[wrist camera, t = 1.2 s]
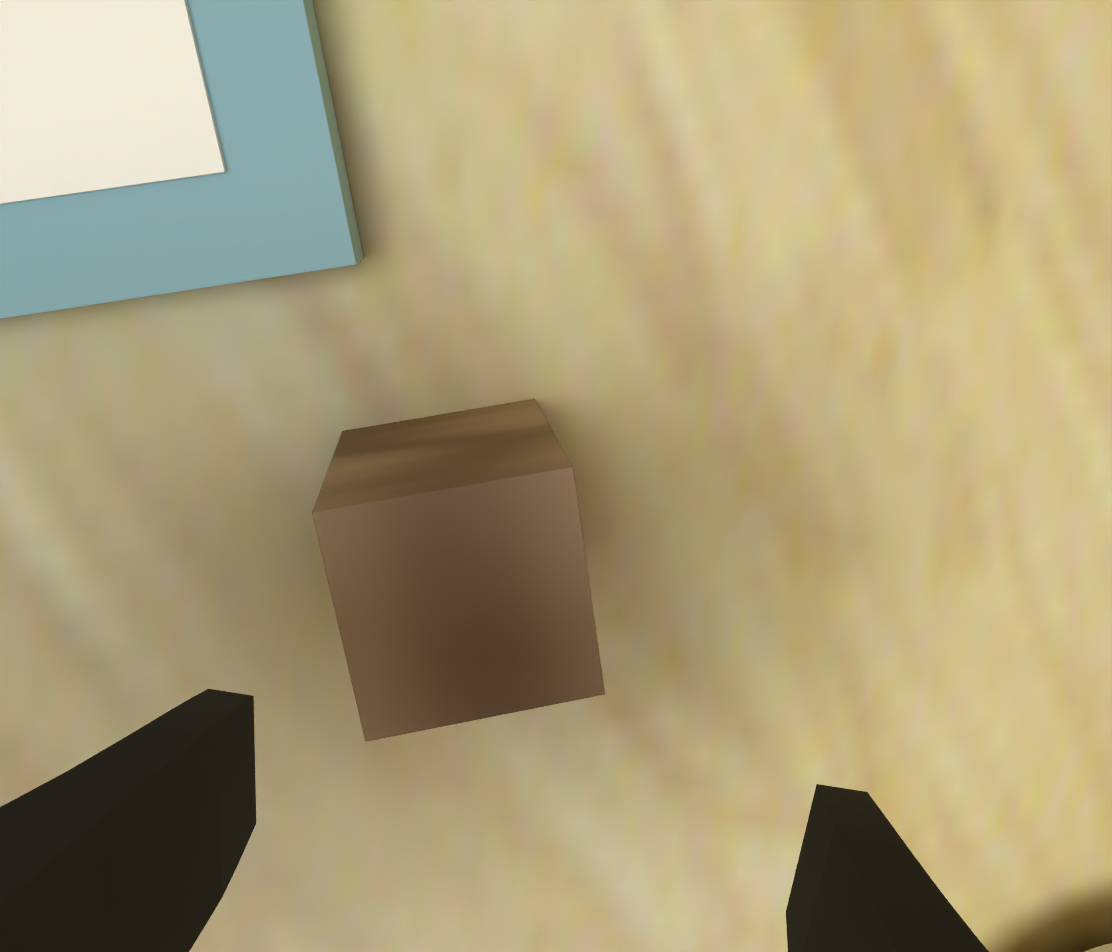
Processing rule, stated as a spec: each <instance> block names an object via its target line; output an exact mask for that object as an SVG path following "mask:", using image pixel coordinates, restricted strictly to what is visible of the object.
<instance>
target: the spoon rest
mask: <svg viewBox="0 0 1112 952" xmlns="http://www.w3.org/2000/svg"><path fill="white" fill-rule="evenodd" d="M1084 952H1112V943H1110V944H1105V945H1102V946H1099V947H1095V948H1092V949H1090V950H1087V951H1084Z"/></svg>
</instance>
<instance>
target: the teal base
mask: <svg viewBox="0 0 1112 952" xmlns="http://www.w3.org/2000/svg"><path fill="white" fill-rule="evenodd" d="M363 258H364V257H363V252H362V247H361V242H360V237H359V232H358V227H357V222H356V217H355V212H354V206H353V201H352V196H351V191H350V186H349V181H348V176H347V171H346V166H345V161H344V156H343V151H342V146H341V141H340V136H339V131H338V126H337V121H336V116H335V110H334V105H333V100H332V95H331V90H330V85H329V80H328V75H327V70H326V65H325V60H324V55H323V50H322V45H321V40H320V35H319V30H318V25H317V20H316V15H315V9H314V4H313V0H0V319H1V318H8V317H15V316H21V315H28V314H34V313H41V312H47V311H54V310H61V309H67V308H74V307H80V306H87V305H93V304H100V303H107V302H113V301H120V300H126V299H133V298H139V297H146V296H152V295H159V294H166V293H172V292H179V291H185V290H192V289H198V288H205V287H212V286H218V285H225V284H231V283H238V282H244V281H251V280H257V279H264V278H271V277H277V276H284V275H290V274H297V273H303V272H310V271H317V270H323V269H330V268H336V267H343V266H349V265H356V264H357V263H358V262H359V261H361V260H362V259H363Z"/></svg>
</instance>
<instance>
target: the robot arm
mask: <svg viewBox="0 0 1112 952" xmlns="http://www.w3.org/2000/svg"><path fill="white" fill-rule="evenodd" d="M255 825H256V793H255V747H254V701H253V696H250V695H244V694H238V693H231V692H225V691H219V690H212V689H207V690H205V691H204V692H202V693H200V694H198V695H196V696H194V697H192V698H191V699H189V700H187V701H185V702H184V703H182V704H180V705H179V706H177V707H175V708H173V709H172V710H170V711H168V712H167V713H165V714H163V715H162V716H160V717H158V718H157V719H155V720H153V721H152V722H150V723H148V724H147V725H145V726H143V727H142V728H140V729H138V730H137V731H135V732H133V733H132V734H130V735H128V736H127V737H125V738H123V739H122V740H120V741H118V742H117V743H115V744H113V745H111V746H110V747H108V748H106V749H105V750H103V751H101V752H99V753H98V754H96V755H94V756H93V757H91V758H89V759H87V760H86V761H84V762H82V763H81V764H79V765H77V766H76V767H74V768H72V769H70V770H69V771H67V772H65V773H63V774H62V775H60V776H58V777H56V778H54V779H52V780H50V781H48V782H47V783H45V784H43V785H41V786H39V787H37V788H35V789H33V790H32V791H30V792H28V793H26V794H24V795H22V796H20V797H19V798H17V799H15V800H13V801H11V802H9V803H7V804H5V805H4V806H2V807H0V952H189V951H190V949H191V948H192V946H193V944H194V943H195V941H196V939H197V938H198V936H199V935H200V933H201V931H202V930H203V928H204V926H205V925H206V923H207V921H208V920H209V918H210V917H211V915H212V913H213V912H214V910H215V908H216V907H217V905H218V903H219V902H220V900H221V898H222V897H223V894H224V892H225V890H226V888H227V886H228V884H229V882H230V880H231V878H232V876H233V873H234V871H235V869H236V867H237V865H238V863H239V861H240V858H241V856H242V854H243V852H244V849H245V847H246V845H247V843H248V840H249V838H250V836H251V834H252V831H253V829H254V827H255ZM786 923H787V941H788V952H988V950H987V949H986V948H985V947H984V945H983V944H982V943H981V942H980V941H979V939H978V938H977V937H976V936H975V935H974V933H973V932H972V931H971V930H970V928H969V927H968V926H967V924H966V923H965V922H964V921H963V919H962V918H961V917H960V916H959V914H958V913H957V912H956V911H955V909H954V908H953V907H952V906H951V904H950V903H949V902H948V900H947V899H946V898H945V897H944V895H943V894H942V893H941V891H940V890H939V889H938V887H937V886H936V885H935V883H934V882H933V881H932V879H931V878H930V877H929V875H928V874H927V873H926V871H925V870H924V869H923V867H922V866H921V865H920V863H919V862H918V861H917V859H916V858H915V857H914V855H913V854H912V852H911V851H910V850H909V848H908V847H907V846H906V844H905V843H904V842H903V840H902V839H901V837H900V836H899V835H898V833H897V832H896V831H895V829H894V828H893V826H892V825H891V824H890V822H889V821H888V820H887V818H886V817H885V816H884V814H883V813H882V811H881V810H880V809H879V807H878V806H877V805H876V803H875V802H874V801H873V799H872V798H871V797H870V795H869V794H868V793H867V792H863V791H857V790H850V789H844V788H838V787H831V786H825V785H818V784H817V785H816V790H815V794H814V798H813V802H812V806H811V810H810V814H809V819H808V823H807V827H806V831H805V835H804V839H803V843H802V848H801V852H800V856H799V860H798V864H797V868H796V872H795V877H794V881H793V885H792V889H791V893H790V897H789V901H788V906H787V910H786Z"/></svg>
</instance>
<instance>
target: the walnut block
mask: <svg viewBox="0 0 1112 952" xmlns="http://www.w3.org/2000/svg"><path fill="white" fill-rule="evenodd" d="M312 514H313V518H314V522H315V527H316V531H317V535H318V540H319V544H320V548H321V553H322V557H323V561H324V565H325V570H326V574H327V578H328V583H329V587H330V591H331V596H332V600H333V604H334V608H335V613H336V617H337V621H338V626H339V630H340V634H341V638H342V643H343V647H344V651H345V656H346V660H347V664H348V669H349V673H350V677H351V681H352V686H353V690H354V694H355V699H356V703H357V707H358V712H359V716H360V720H361V724H362V729H363V733H364V737H365V742H366V741H371V740H376V739H381V738H386V737H391V736H396V735H401V734H406V733H411V732H416V731H422V730H427V729H432V728H437V727H442V726H447V725H452V724H457V723H462V722H467V721H472V720H477V719H482V718H487V717H492V716H497V715H502V714H507V713H513V712H518V711H523V710H528V709H533V708H538V707H543V706H548V705H553V704H558V703H563V702H568V701H573V700H578V699H583V698H588V697H593V696H598V695H604V694H605V691H604V684H603V677H602V670H601V663H600V656H599V649H598V642H597V635H596V628H595V621H594V614H593V607H592V600H591V592H590V585H589V578H588V571H587V564H586V557H585V550H584V543H583V536H582V529H581V522H580V515H579V508H578V501H577V494H576V487H575V480H574V473H573V467H572V465H571V463H570V461H569V460H568V458H567V456H566V454H565V452H564V451H563V449H562V447H561V445H560V444H559V442H558V440H557V438H556V437H555V435H554V433H553V431H552V429H551V428H550V426H549V424H548V422H547V421H546V419H545V417H544V415H543V414H542V412H541V410H540V408H539V406H538V405H537V403H536V401H535V399H531V400H525V401H519V402H513V403H507V404H501V405H495V406H489V407H483V408H477V409H471V410H465V411H459V412H453V413H447V414H442V415H436V416H430V417H424V418H418V419H412V420H406V421H400V422H394V423H388V424H382V425H376V426H370V427H364V428H358V429H352V430H346V431H342V433H341V436H340V439H339V442H338V444H337V447H336V450H335V452H334V455H333V458H332V460H331V463H330V466H329V469H328V471H327V474H326V477H325V479H324V482H323V485H322V488H321V490H320V493H319V496H318V498H317V501H316V504H315V507H314V509H313V512H312Z"/></svg>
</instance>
